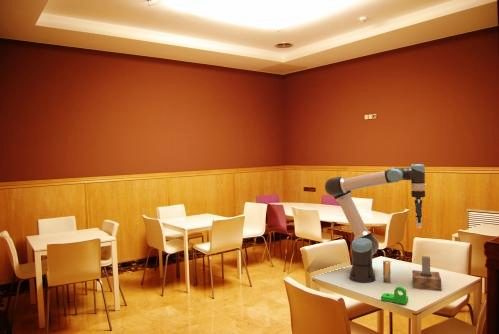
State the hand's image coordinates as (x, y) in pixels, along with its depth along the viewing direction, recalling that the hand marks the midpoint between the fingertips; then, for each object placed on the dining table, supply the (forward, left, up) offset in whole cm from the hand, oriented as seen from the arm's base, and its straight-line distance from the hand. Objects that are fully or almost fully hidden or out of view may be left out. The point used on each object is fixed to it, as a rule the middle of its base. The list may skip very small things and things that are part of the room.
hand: (418, 226), depth 225 cm
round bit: (-18, -10, -32) cm, 38 cm away
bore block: (+3, -10, -32) cm, 33 cm away
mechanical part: (-14, -38, -32) cm, 51 cm away
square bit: (+3, -10, -31) cm, 32 cm away
